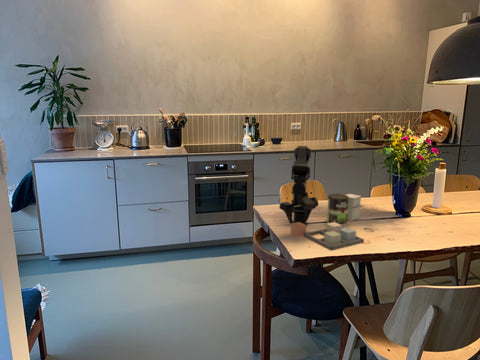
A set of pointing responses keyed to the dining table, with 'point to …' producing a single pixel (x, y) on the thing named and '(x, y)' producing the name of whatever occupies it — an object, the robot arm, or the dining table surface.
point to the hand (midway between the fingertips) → (298, 221)
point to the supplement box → (353, 207)
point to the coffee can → (337, 209)
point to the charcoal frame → (335, 236)
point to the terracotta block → (298, 229)
